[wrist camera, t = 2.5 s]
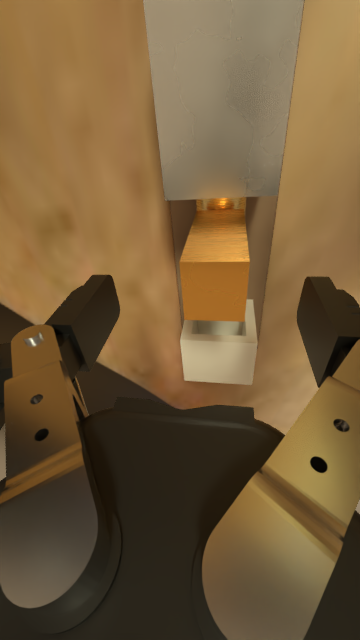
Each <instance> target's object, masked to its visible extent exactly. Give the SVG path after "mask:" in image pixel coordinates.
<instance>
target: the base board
mask: <svg viewBox="0 0 360 640" xmlns="http://www.w3.org/2000/svg"><path fill="white" fill-rule="evenodd" d="M304 2H305V0H304ZM303 9H304V3H303ZM302 16H303V10H302ZM301 24H302V18H301ZM300 31H301V25H300ZM299 38H300V32H299ZM298 46H299V40H298ZM297 53H298V47H297ZM296 61H297V55H296ZM295 68H296V62H295ZM294 75H295V70H294ZM293 83H294V77H293ZM292 90H293V84H292ZM291 97H292V92H291ZM290 105H291V99H290ZM289 112H290V107H289ZM288 119H289V114H288ZM287 127H288V122H287ZM286 134H287V129H286ZM285 142H286V136H285ZM284 149H285V144H284ZM283 156H284V151H283ZM282 164H283V159H282ZM281 171H282V166H281ZM280 178H281V174H280ZM279 186H280V181H279ZM278 193H279V188H278ZM277 200H278V196H257V197H246V211H245V224H246V232H247V241H248V250H249V259H250V266H249V277H248V289H247V299H253V305H254V314H255V323H256V333H257V342H258V340H259V333H260V326H261V318H262V311H263V303H264V296H265V289H266V281H267V274H268V267H269V259H270V252H271V245H272V237H273V230H274V222H275V215H276V208H277ZM170 209H171V219H172V229H173V240H174V250H175V260H176V270H177V281H178V291H179V301H180V311H181V321H182V329H183V325H184V309H183V298H182V287H181V276H180V264H179V262H180V259H181V256H182V253H183V250H184V247H185V244H186V241H187V238H188V235H189V232H190V229H191V226H192V223H193V220H194V218H195V215H196V199H191V200H170ZM257 348H258V345H257Z"/></svg>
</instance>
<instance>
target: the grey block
mask: <svg viewBox="0 0 360 640" xmlns="http://www.w3.org/2000/svg"><path fill="white" fill-rule="evenodd" d="M143 2H144V11H145V21H146V30H147V39H148V48H149V58H150V67H151V76H152V85H153V95H154V104H155V113H156V122H157V132H158V141H159V150H160V159H161V169H162V178H163V187H164V196H165V201H170V200H191V199H213V198H235V197H257V196H278V188H279V181H280V174H281V166H282V159H283V151H284V144H285V136H286V129H287V122H288V114H289V107H290V99H291V92H292V84H293V77H294V70H295V62H296V55H297V47H298V40H299V32H300V25H301V18H302V10H303V3H304V0H143Z"/></svg>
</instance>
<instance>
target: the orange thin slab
mask: <svg viewBox="0 0 360 640" xmlns="http://www.w3.org/2000/svg"><path fill="white" fill-rule="evenodd" d="M245 211H246V197H235V198H213V199H196V215H195V218H194V220H193V223H192V226H191V229H190V232H189V235H188V238H187V241H186V244H185V247H184V250H183V253H182V256H181V259H180V262H179V264H180V276H181V287H182V298H183V309H184V320H204V321H236V322H245V311H246V300H247V289H248V277H249V266H250V259H249V250H248V241H247V232H246V224H245Z"/></svg>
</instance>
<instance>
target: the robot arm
mask: <svg viewBox="0 0 360 640" xmlns="http://www.w3.org/2000/svg"><path fill="white" fill-rule="evenodd" d="M119 314H120V305H119V301H118V297H117V293H116V289H115V285H114V281H113V278H112V276H111V275H92V276H91V277H90V278H89V279H88V281H87V282H86V283H85V284H84V286H80V287H79V288H77V289H76V290H74V291H73V292H71V294H70V295H69V296H68V297H67V298H66V300H65V301H64V302H63V303H62V304H61V306H59V308H58V309H57V310H56V311H55V312H54V313H53V315H52V316H51V317H50V318H49V319H48V320H47V322H46V323H45V324H44V325H35V326H31V327H29V328H27V329H24V330H23V331H21V332H19V333H18V334H17V335H16V336H15V337H14V338H13V340H12V342H10V343H5V344H0V430H1V428H2V426H3V425H4V424H5V447H6V448H5V449H6V450H5V451H6V477H5V478H4V479H3V480H1V481H0V640H360V514H359V513H357V511H356V510H355V509H356V507H357V504H358V502H359V500H360V308H359V304H358V303H357V302H356V300H355V299H354V297H353V296H351V295H350V294H348V293H347V292H345V291H344V290H337V289H336V287H335V286H334V284H333V282H332V281H331V279H330V278H329V277H307V278H306V279H305V282H304V285H303V289H302V294H301V298H300V302H299V306H298V310H297V324H298V327H299V330H300V333H301V336H302V339H303V343H304V346H305V349H306V352H307V355H308V358H309V361H310V364H311V367H312V370H313V373H314V376H315V379H316V382H317V386H318V388H319V389H318V391H317V392H316V394H315V395H314V396H313V398H312V399H311V401H310V402H309V403H308V405H307V406H306V407H305V409H304V410H303V412H302V413H301V414H300V416H299V417H298V419H297V420H296V421H295V423H294V424H293V426H292V427H291V428H290V430H289V431H288V433H287V434H286V435H284V434H283V433H281V432H280V431H279V430H277V429H276V428H274V427H272V426H270V425H269V424H266V423H264V422H262V421H259V420H256V419H254V410H253V408H251V407H238V406H226V405H214V406H207V407H200V408H193V409H186V410H180V409H176V408H173V407H170V406H167V405H164V404H161V403H158V402H155V401H152V400H149V399H138V398H125V397H117V400H116V402H115V405H114V407H112V408H108V409H104V410H101V411H98V412H96V413H94V414H91V415H88V412H87V409H86V406H85V403H84V400H83V397H82V393H81V390H80V387H79V384H78V381H77V379H76V377H75V376H76V374H77V372H78V371H86V372H90V371H91V369H92V367H93V365H94V363H95V361H96V360H97V358H98V356H99V354H100V352H101V350H102V348H103V346H104V344H105V342H106V341H107V339H108V337H109V335H110V333H111V331H112V329H113V327H114V325H115V324H116V322H117V320H118V318H119Z"/></svg>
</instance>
